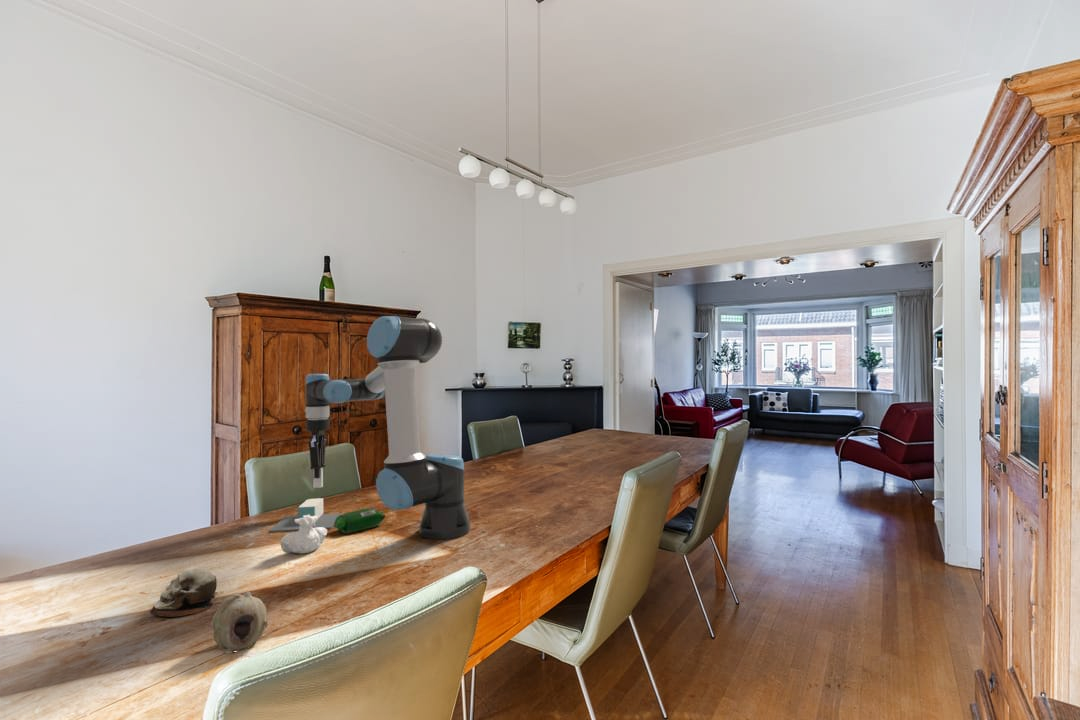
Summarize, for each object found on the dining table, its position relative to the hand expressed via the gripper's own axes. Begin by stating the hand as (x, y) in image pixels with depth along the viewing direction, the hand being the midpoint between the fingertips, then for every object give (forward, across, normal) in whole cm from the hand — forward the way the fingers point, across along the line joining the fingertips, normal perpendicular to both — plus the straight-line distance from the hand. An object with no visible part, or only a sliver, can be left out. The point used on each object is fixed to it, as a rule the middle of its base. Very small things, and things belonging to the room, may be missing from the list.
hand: (318, 487), depth 169 cm
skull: (+9, +64, -9) cm, 65 cm away
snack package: (+9, +19, +18) cm, 28 cm away
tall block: (+6, +3, 0) cm, 6 cm away
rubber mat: (+9, +12, 0) cm, 14 cm away
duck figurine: (+9, +37, +7) cm, 38 cm away
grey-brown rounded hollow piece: (+9, +82, +10) cm, 83 cm away
